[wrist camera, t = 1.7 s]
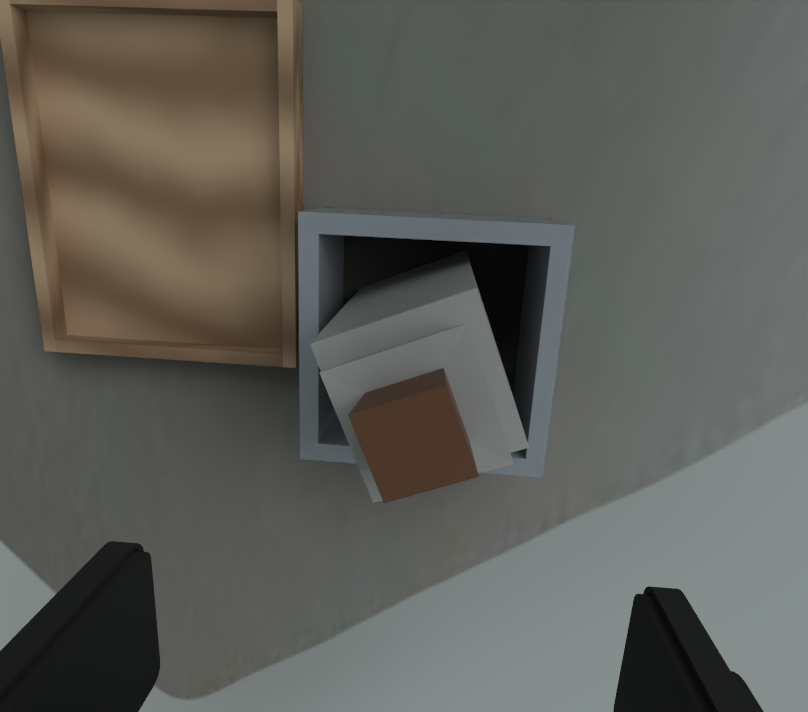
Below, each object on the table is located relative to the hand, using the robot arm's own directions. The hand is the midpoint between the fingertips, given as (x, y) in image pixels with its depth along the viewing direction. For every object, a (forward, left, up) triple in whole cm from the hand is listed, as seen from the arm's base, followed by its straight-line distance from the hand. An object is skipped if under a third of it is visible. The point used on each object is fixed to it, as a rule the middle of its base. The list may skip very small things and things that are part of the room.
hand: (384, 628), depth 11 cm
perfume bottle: (0, 0, -26) cm, 26 cm away
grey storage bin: (0, 0, -25) cm, 25 cm away
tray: (-7, -16, -25) cm, 31 cm away
